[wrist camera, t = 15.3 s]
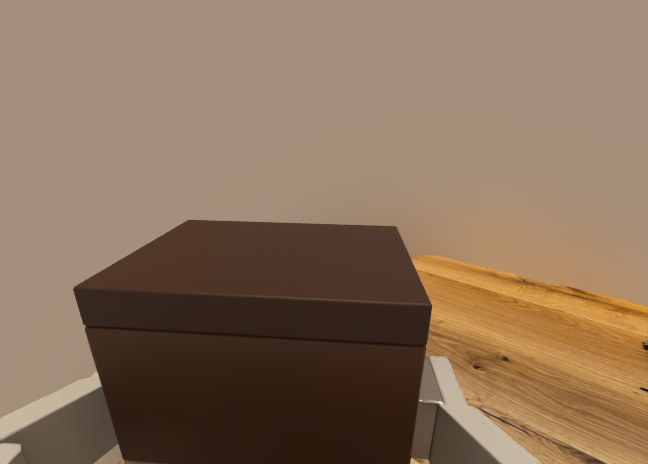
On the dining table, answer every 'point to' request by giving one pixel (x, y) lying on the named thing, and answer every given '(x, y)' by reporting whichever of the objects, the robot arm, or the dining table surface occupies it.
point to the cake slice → (261, 344)
